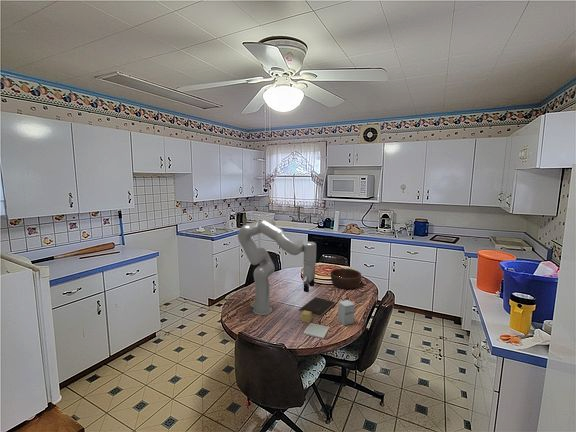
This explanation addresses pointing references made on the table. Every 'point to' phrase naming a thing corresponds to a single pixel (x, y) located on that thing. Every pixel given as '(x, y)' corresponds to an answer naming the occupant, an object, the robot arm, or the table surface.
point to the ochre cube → (306, 316)
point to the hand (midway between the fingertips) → (309, 288)
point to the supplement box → (345, 312)
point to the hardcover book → (317, 306)
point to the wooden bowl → (345, 278)
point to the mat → (316, 330)
